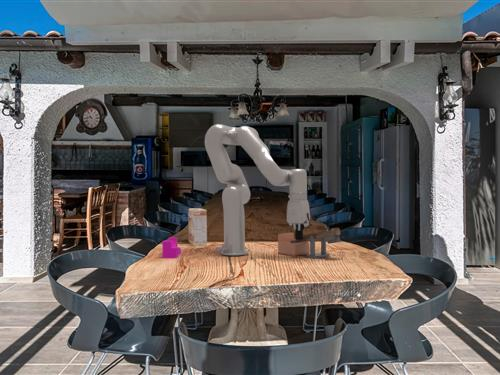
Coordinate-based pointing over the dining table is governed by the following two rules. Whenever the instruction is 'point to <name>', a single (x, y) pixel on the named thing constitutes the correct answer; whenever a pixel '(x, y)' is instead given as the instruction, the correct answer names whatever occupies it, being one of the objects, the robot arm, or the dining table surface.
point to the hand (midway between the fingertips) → (299, 239)
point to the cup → (291, 245)
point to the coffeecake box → (197, 226)
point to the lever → (322, 236)
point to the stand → (312, 249)
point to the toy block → (170, 248)
